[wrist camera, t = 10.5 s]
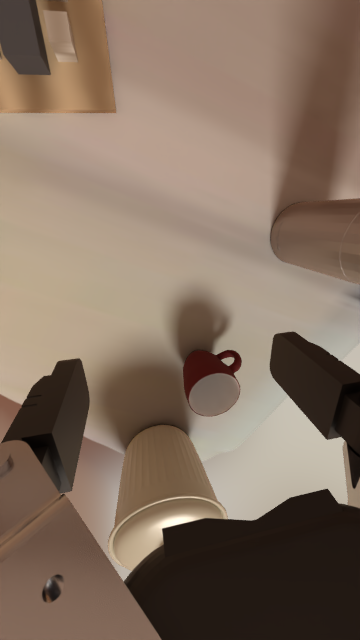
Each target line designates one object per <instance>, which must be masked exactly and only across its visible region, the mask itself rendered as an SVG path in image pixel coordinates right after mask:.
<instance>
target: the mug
mask: <svg viewBox="0 0 360 640" xmlns="http://www.w3.org/2000/svg"><path fill="white" fill-rule="evenodd" d="M227 357H233V358H235V360H234V362H233V364H231V365H230V366H227V365H226V364H224V363H223V362H222V361H221V360H222V359H224V358H227ZM241 362H242V361H241V357H240V355H239V354H238V353H237V352H236V351H233V350H226V351H223V352H221V353H219V354H218V355H214V354H212V353H210V352H207V351H202V350H197V351H194V352H192V353H191V354H189V356H188V357H187V359H186V361H185V363H184V367H183V378H184V390H185V394H186V398H187V400H188V403H189V406H190V408H191V409H192V410H193V411H194V412H195V413H197V414H199V415H202V416H216V415H219V414H222V413H224V412H226V411H227V410H229V409H230V408H231V407H232V406H233V405H234V404H235V403H236V401H237V400H238V397H239V394H240V385H239V383H238V381H237V379H236V377H235V376H234V373H235V372H236V371H238V370H239V368H240V367H241Z"/></svg>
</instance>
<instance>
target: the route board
mask: <svg viewBox="0 0 360 640" xmlns="http://www.w3.org/2000/svg"><path fill="white" fill-rule="evenodd" d="M36 3H37V8H38V13H39V18H40V23H41V28H42V33H43V38H44V43H45V48H46V53H47V58H48V63H49V68H50V73H51V75H23V74H18V73H17V72H16V70H15V69H14V68H13V67H12V65H11V64H10V63H9V61H8V60H7V59H6V58H5V56H4V55H3V52H2V48H1V44H0V113H116V108H115V100H114V92H113V85H112V77H111V69H110V61H109V53H108V45H107V37H106V30H105V22H104V14H103V6H102V0H36Z"/></svg>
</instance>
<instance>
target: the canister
mask: <svg viewBox="0 0 360 640" xmlns="http://www.w3.org/2000/svg"><path fill="white" fill-rule="evenodd" d="M204 518H216V519H228V516H227V513H226V510H225V508H224V507H223V506H222V505H221V503H220V502H218V501H217V499H216V496H215V493H214V491H213V489H212V486H211V484H210V482H209V479H208V477H207V475H206V472H205V470H204V467H203V465H202V463H201V461H200V458H199V456H198V454H197V452H196V450H195V447H194V445H193V443H192V442H191V440H190V438H189V437H188V436H187V435H186V433H185V432H183V431H182V430H181V429H179V428H177V427H173V426H168V425H157V426H152V427H150V428H147V429H145V430H143V431H142V432H140V433H139V434H138V435H136V436H135V437H134V438H133V439H132V441H131V442H130V444H129V445H128V448H127V450H126V453H125V457H124V462H123V468H122V474H121V482H120V488H119V495H118V502H117V509H116V517H115V525H114V528H113V530H112V532H111V534H110V536H109V540H108V551H109V554H110V556H111V558H112V559H113V560H114V561H115V562H116V563H117V564H119V565H121V566H123V567H125V568H127V569H129V570H131V571H132V570H133V569H134V568H135V567H136V566H137V565H138V564H139V563H140V562H141V561H142V560H143V559H144V558H145V557H146V556H147V555H149V554H150V553H151V552H152V551H154V550H155V549H157V548H158V547H160V546H161V545H163V544H164V543H163V534H162V528H166V527H170V526H174V525H179V524H183V523H187V522H191V521H195V520H199V519H204Z"/></svg>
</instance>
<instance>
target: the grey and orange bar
mask: <svg viewBox="0 0 360 640" xmlns="http://www.w3.org/2000/svg"><path fill="white" fill-rule="evenodd" d="M0 44H1V48H2V52H3V55H4V56H5V58H6V59H7V60H8V61H9V63H10V64H11V65H12V67H13V68H14V69H15V70H16V72H17V73H18V74H23V75H51V73H50V68H49V63H48V58H47V53H46V48H45V43H44V38H43V33H42V28H41V23H40V18H39V13H38V8H37V3H36V0H0Z"/></svg>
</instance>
